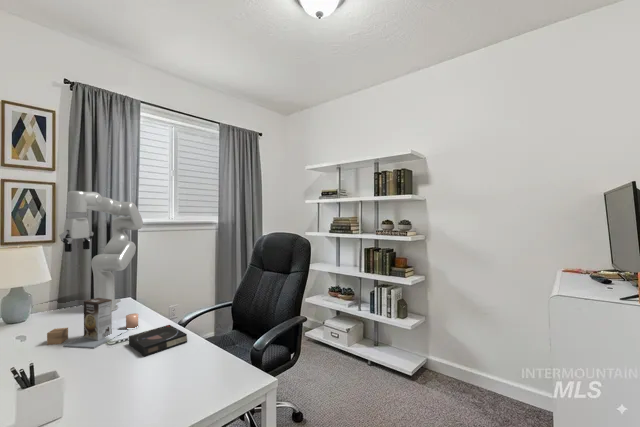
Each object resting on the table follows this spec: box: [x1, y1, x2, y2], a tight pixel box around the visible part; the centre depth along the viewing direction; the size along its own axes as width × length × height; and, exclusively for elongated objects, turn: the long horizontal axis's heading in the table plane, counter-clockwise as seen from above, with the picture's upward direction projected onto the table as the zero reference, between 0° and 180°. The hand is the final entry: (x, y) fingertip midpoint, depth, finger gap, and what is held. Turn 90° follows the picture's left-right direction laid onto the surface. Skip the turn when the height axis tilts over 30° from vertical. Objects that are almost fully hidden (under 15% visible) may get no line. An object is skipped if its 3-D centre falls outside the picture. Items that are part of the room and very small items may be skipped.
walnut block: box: [46, 327, 69, 346], centre depth 128 cm, size 5×5×5 cm
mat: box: [63, 335, 107, 349], centre depth 131 cm, size 18×14×1 cm
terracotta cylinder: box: [125, 313, 139, 329], centre depth 143 cm, size 5×5×6 cm
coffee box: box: [83, 298, 113, 341], centre depth 131 cm, size 9×6×16 cm
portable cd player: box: [128, 324, 188, 357], centre depth 126 cm, size 16×17×4 cm
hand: (77, 250), depth 149 cm, fingers open, 9 cm apart
